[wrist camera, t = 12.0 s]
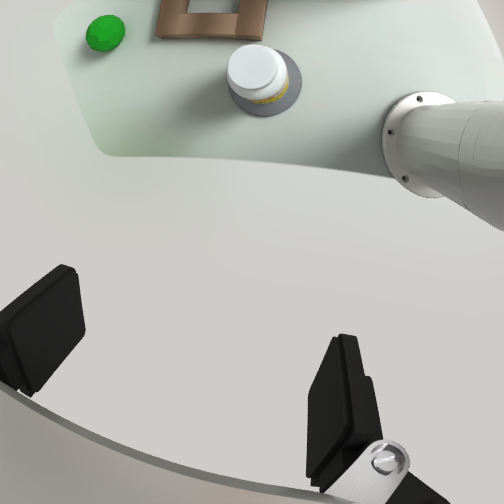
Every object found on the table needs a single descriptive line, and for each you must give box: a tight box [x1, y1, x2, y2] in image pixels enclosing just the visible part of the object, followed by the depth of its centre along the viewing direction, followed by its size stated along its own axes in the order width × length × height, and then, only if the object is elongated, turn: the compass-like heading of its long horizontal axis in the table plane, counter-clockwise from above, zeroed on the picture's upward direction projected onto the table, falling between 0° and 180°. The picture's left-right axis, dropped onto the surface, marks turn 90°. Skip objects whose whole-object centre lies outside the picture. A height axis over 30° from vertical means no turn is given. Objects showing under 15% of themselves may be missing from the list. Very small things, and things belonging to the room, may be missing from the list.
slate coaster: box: [228, 49, 302, 116], centre depth 31 cm, size 8×8×1 cm
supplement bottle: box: [227, 44, 289, 104], centre depth 26 cm, size 5×5×10 cm
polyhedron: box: [86, 15, 125, 52], centre depth 28 cm, size 5×5×5 cm
